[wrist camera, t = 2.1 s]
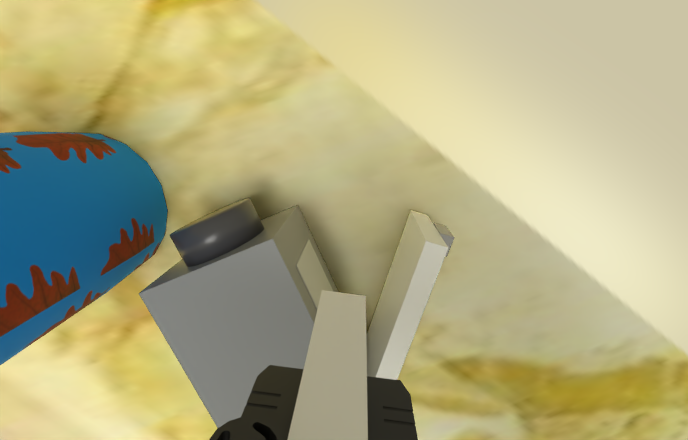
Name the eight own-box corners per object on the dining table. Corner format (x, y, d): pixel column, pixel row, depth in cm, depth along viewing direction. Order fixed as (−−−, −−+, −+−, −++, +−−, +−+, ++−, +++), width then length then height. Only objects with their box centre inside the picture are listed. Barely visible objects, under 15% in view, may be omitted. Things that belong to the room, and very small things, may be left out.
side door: (388, 351, 30) (395, 425, 23) (362, 344, 30) (362, 416, 23) (438, 216, 28) (465, 252, 20) (410, 207, 27) (427, 240, 20)
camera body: (369, 357, 31) (371, 447, 22) (275, 390, 32) (244, 487, 24) (286, 178, 28) (252, 205, 19) (185, 221, 29) (112, 264, 20)
